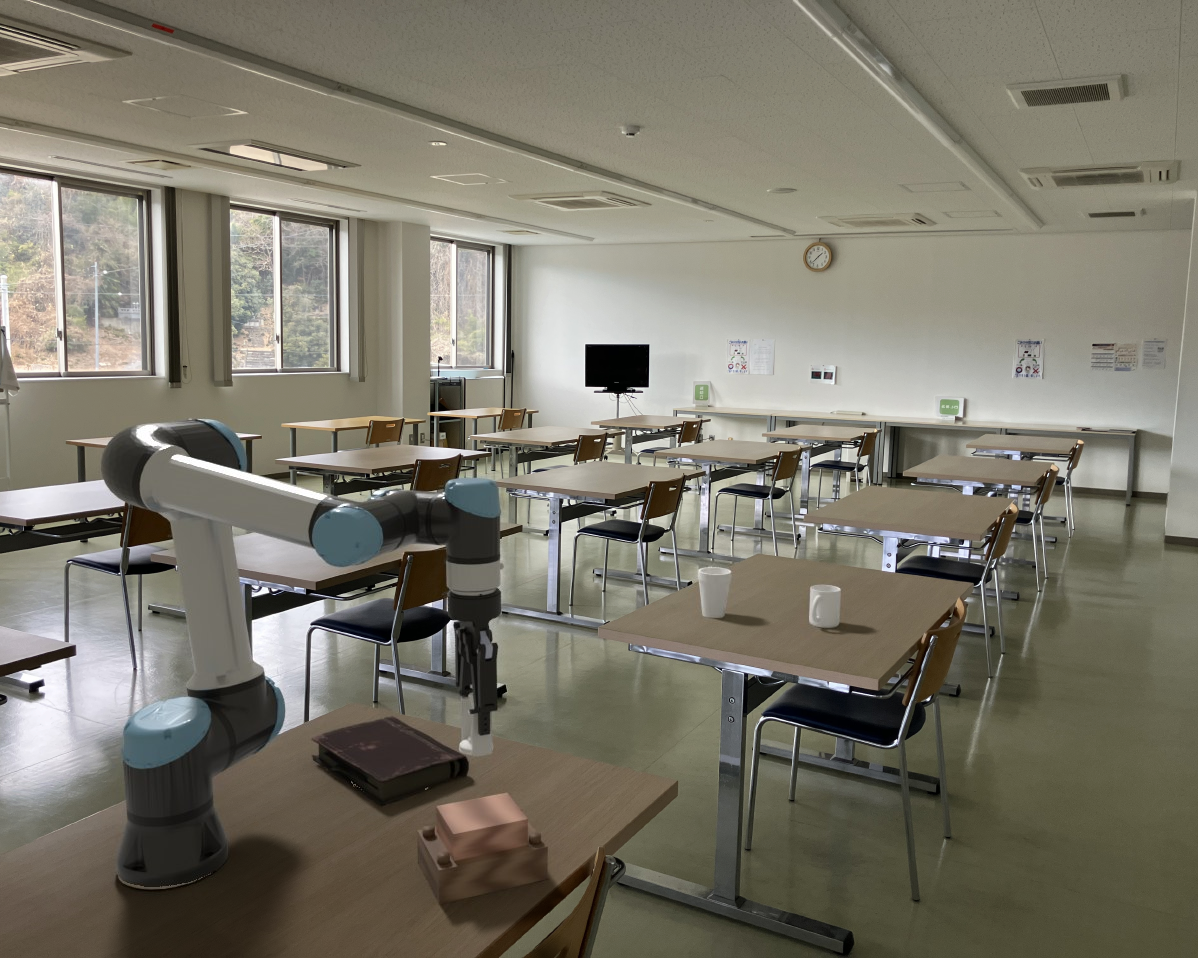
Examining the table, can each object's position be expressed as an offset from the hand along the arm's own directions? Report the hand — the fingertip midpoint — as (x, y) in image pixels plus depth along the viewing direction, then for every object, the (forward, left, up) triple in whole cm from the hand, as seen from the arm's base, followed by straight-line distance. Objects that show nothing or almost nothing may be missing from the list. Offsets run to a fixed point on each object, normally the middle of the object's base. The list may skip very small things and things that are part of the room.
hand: (476, 746), depth 138 cm
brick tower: (+1, 0, -19) cm, 19 cm away
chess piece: (0, 0, 0) cm, 0 cm away
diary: (-4, +40, -20) cm, 45 cm away
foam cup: (+104, +104, -19) cm, 148 cm away
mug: (+126, +83, -19) cm, 152 cm away
